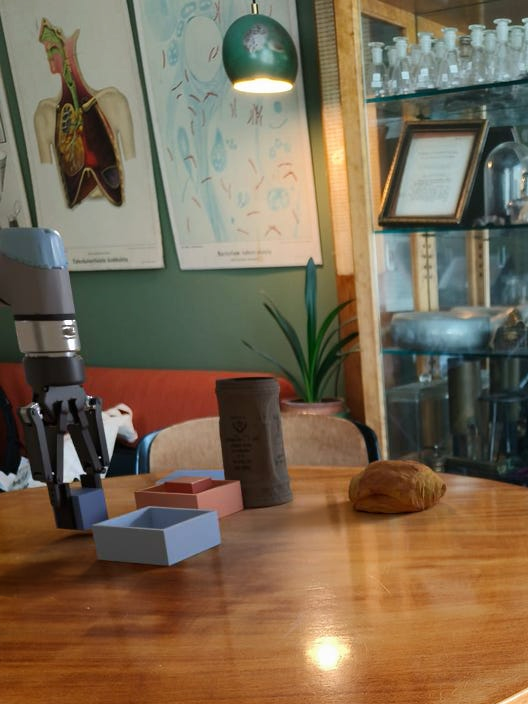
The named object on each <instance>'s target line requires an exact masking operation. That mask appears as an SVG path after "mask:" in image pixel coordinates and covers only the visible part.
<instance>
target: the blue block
mask: <svg viewBox="0 0 528 704" xmlns="http://www.w3.org/2000/svg"><path fill="white" fill-rule="evenodd" d="M70 492H71V498H72V503H73V509H74V514H75V520H76V525H77V529H74V530H73V531H78V532H79V531H81V532H86V531H88V530H92V527H91V525H94V524H97V523H100V522H103V521H106V520H109V519H110V518H109V512H108V507H107V502H106V496H105V490H104V488H103V489H100V488H85V487H81V486H74V487H70ZM51 507H52V506H51ZM52 512H53V517H54V522H55V527H56V529H58V530H60V529H59V528H58V525H57V520H56V515H55V510H54V507H52ZM66 530H67V531H69V529H66Z"/></svg>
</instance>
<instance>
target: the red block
mask: <svg viewBox="0 0 528 704" xmlns="http://www.w3.org/2000/svg"><path fill="white" fill-rule="evenodd" d="M164 484H165V491H166V493H181V494H198V493H201V492H204V491H207V490H210V489H213V486H212V479H211V477H198V476H182V477H179V478H176V479H172V480H169V481H166V482H164Z"/></svg>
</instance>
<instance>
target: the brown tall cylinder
mask: <svg viewBox="0 0 528 704" xmlns="http://www.w3.org/2000/svg"><path fill="white" fill-rule="evenodd" d="M280 392H281V386H280V384H279V378H278V377H276V376H242V377H241V376H239V377H227V378H217V379H216V380H215V388H214V393H215V396H216V403H217V410H218V432H219V433H218V434H219V440H220V451H221V457H222V470H224V477H225V480H236V481H237V480H238V481H240V485H241V493H242V502H243V508H246V509H247V508H248V509H249V508H263V507H264V508H265V507H273V506H279V505H283V504H286V503H288V502H290V501H292V500H293V498H294V495H293V490H292V488H291V476H290V474H289V471H288V465H287V457H286V450H285V445H284V444H285V443H284V435H283V434H284V433H283V425H282V418H281V408H280Z"/></svg>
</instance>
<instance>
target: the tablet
mask: <svg viewBox="0 0 528 704" xmlns="http://www.w3.org/2000/svg"><path fill="white" fill-rule="evenodd" d="M182 476H198V477H211V479H218V480H225V477H224V469H178V470H175V471H173V472H171V473H170V474H168V475H166V476H164V477H162V478H161V479H159V480H157V481H155V482H154V485H158V484H161V483H164V482H166V481H169V480H172V479H176V478H179V477H182Z"/></svg>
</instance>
